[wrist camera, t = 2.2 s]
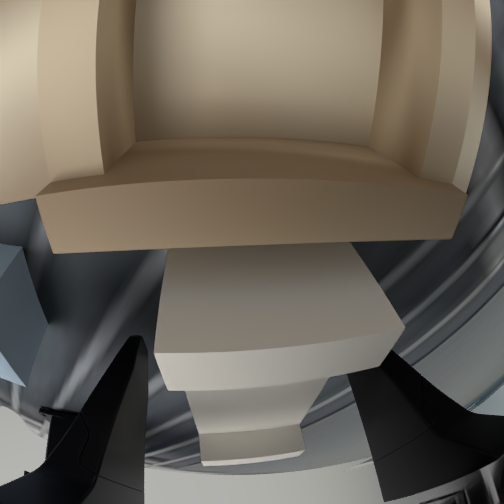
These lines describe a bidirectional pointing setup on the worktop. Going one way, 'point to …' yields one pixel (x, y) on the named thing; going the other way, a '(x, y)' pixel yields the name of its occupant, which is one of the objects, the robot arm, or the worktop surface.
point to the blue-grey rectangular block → (18, 317)
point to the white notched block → (265, 339)
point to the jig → (241, 119)
